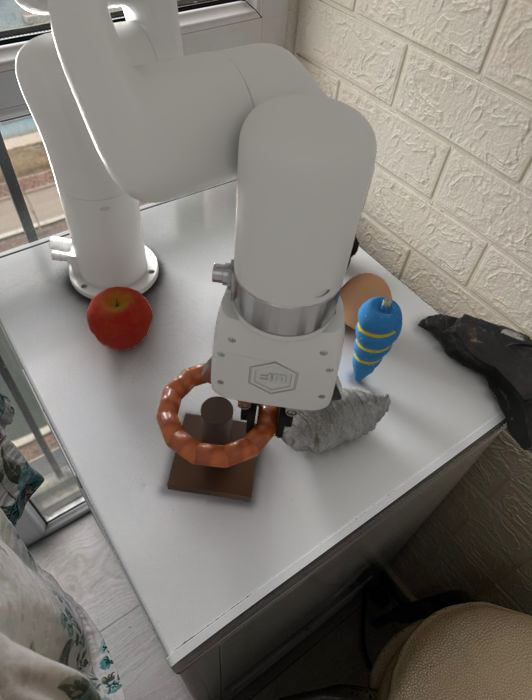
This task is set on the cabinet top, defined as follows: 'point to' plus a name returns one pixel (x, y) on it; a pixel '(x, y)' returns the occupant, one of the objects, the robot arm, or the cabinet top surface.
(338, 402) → the seashell
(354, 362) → the ornament
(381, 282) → the egg
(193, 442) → the ring
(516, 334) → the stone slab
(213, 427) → the ring stand
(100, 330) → the apple
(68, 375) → the cabinet top surface
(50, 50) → the robot arm
